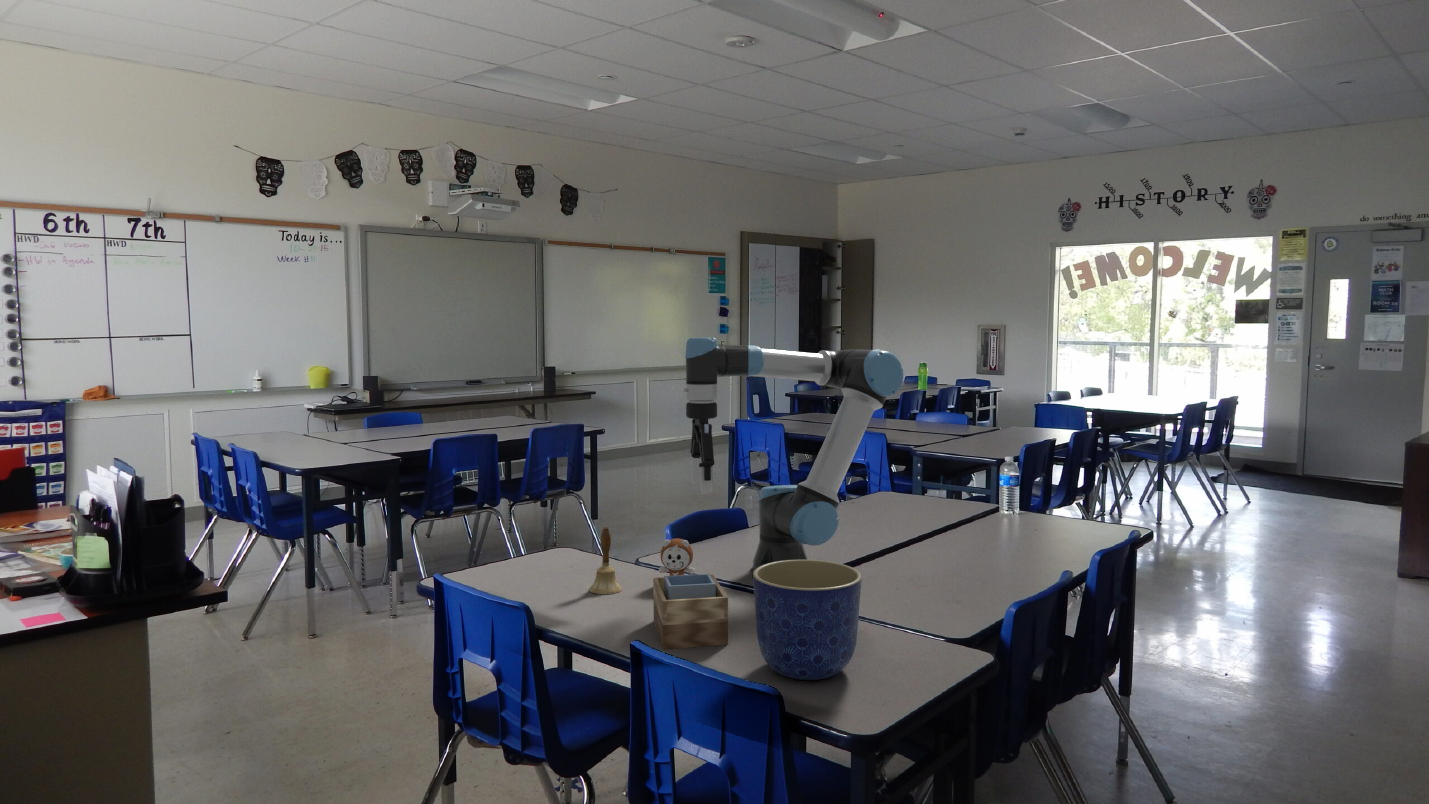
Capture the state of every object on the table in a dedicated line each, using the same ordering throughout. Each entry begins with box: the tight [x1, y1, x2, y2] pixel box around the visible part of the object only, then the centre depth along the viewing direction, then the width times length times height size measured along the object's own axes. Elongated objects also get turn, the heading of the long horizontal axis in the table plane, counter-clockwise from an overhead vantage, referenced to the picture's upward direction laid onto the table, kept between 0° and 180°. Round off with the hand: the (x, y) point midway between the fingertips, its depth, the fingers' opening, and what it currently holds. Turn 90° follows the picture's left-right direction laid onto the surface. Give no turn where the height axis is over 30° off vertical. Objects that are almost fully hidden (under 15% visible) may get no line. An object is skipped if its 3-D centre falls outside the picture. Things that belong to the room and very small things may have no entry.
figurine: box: [658, 537, 696, 576], centre depth 227 cm, size 9×9×12 cm
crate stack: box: [652, 574, 729, 650], centre depth 192 cm, size 14×18×10 cm
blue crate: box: [663, 573, 716, 600], centre depth 192 cm, size 10×8×6 cm
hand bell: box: [588, 526, 623, 595], centre depth 223 cm, size 8×8×16 cm
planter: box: [752, 559, 863, 681], centre depth 171 cm, size 21×21×19 cm
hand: (701, 488), depth 216 cm, fingers open, 13 cm apart
